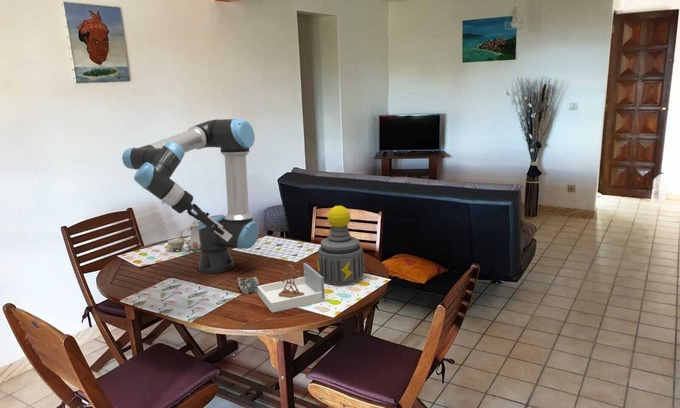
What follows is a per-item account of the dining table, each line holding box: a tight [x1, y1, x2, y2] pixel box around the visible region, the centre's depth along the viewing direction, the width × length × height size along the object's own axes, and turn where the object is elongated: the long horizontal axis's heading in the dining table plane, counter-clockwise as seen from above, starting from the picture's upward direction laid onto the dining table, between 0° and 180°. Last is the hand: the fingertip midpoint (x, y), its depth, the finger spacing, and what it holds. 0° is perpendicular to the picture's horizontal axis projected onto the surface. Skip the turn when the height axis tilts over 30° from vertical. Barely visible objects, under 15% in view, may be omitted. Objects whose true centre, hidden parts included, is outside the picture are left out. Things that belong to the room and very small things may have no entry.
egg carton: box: [237, 276, 260, 295], centre depth 195 cm, size 11×8×4 cm
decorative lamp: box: [316, 205, 365, 286], centre depth 200 cm, size 19×19×30 cm
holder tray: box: [257, 262, 326, 313], centre depth 184 cm, size 18×20×9 cm
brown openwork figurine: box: [279, 264, 304, 298], centre depth 183 cm, size 9×4×12 cm, turn 69°
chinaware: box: [165, 218, 201, 253], centre depth 248 cm, size 28×17×17 cm, turn 128°
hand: (225, 233), depth 180 cm, fingers open, 13 cm apart
